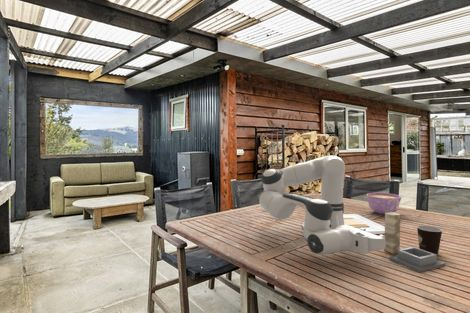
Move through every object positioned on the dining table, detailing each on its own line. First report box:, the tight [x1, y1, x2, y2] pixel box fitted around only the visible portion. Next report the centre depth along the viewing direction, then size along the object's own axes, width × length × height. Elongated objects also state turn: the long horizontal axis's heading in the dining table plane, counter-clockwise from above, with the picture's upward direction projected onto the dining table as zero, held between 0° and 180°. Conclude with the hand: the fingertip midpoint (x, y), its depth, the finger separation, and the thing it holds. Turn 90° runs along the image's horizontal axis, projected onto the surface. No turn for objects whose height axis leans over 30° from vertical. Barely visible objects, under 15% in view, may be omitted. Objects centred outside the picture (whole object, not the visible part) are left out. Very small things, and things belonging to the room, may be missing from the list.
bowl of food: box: [366, 192, 402, 215], centre depth 183 cm, size 20×20×12 cm
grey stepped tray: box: [388, 246, 446, 273], centre depth 107 cm, size 14×12×4 cm
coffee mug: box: [416, 224, 443, 256], centre depth 118 cm, size 12×9×10 cm
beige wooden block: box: [383, 212, 401, 254], centre depth 118 cm, size 4×4×16 cm
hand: (373, 233), depth 114 cm, fingers open, 8 cm apart
